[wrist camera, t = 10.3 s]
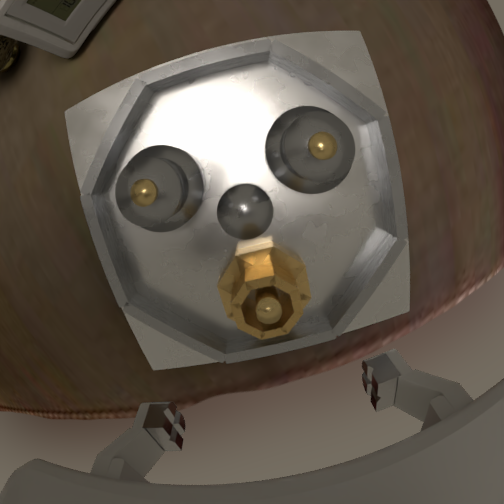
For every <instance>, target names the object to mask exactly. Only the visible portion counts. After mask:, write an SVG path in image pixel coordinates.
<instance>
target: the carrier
mask: <svg viewBox="0 0 504 504" xmlns="http://www.w3.org/2000/svg"><path fill="white" fill-rule="evenodd" d="M65 118H66V125H67V131H68V137H69V143H70V148H71V153H72V158H73V163H74V167H75V172H76V176H77V180H78V184H79V188H80V193H81V196H80V199H81V203H82V206H83V210H84V213H85V217H86V220H87V223H88V226H89V229H90V233H91V236H92V239H93V242H94V244H95V247H96V250H97V253H98V256H99V258H100V261H101V264H102V266H103V269H104V272H105V274H106V277H107V279H108V282H109V284H110V287H111V289H112V291H113V294H114V296H115V298H116V301H117V303H118V305H119V307H121V308H122V310H123V312H124V314H125V316H126V319H127V321H128V323H129V325H130V327H131V329H132V331H133V333H134V335H135V337H136V339H137V341H138V343H139V345H140V347H141V349H142V351H143V353H144V354H145V356H146V358H147V360H148V362H149V364H150V365H151V367H152V369H153V370H161V369H171V368H179V367H187V366H194V365H201V364H208V363H214V362H221V363H223V362H224V361H226V364H228V363H234V362H240V361H245V360H250V359H255V358H260V357H265V356H270V355H274V354H279V353H283V352H287V351H292V350H296V349H300V348H304V347H308V346H312V345H316V344H319V343H323V342H327V341H330V340H334V339H336V335H338V336H341V334H342V333H346V332H349V331H352V330H356V329H359V328H362V327H365V326H368V325H371V324H374V323H377V322H380V321H383V320H386V319H389V318H392V317H395V316H397V315H400V314H403V313H406V312H408V311H409V310H410V262H409V242H408V228H407V217H406V208H405V199H404V192H403V185H402V178H401V172H400V166H399V161H398V155H397V150H396V145H395V141H394V136H393V132H392V128H391V123H390V119H389V116H388V112H387V108H386V104H385V101H384V97H383V94H382V91H381V87H380V84H379V81H378V78H377V75H376V72H375V69H374V66H373V63H372V61H371V58H370V55H369V53H368V50H367V47H366V45H365V42H364V40H363V37H362V35H361V33H360V31H320V32H305V33H294V34H285V35H277V36H270V37H264V38H258V39H252V40H247V41H242V42H237V43H233V44H228V45H224V46H220V47H216V48H212V49H208V50H204V51H201V52H197V53H194V54H191V55H188V56H184V57H181V58H178V59H175V60H172V61H169V62H167V63H164V64H161V65H158V66H156V67H153V68H151V69H148V70H146V71H143V72H141V73H138V74H136V75H134V76H131V77H129V78H127V79H125V80H122V81H120V82H118V83H116V84H114V85H112V86H110V87H108V88H106V89H104V90H102V91H100V92H98V93H96V94H94V95H92V96H91V97H89V98H87V99H85V100H83V101H82V102H80V103H78V104H76V105H75V106H73V107H71V108H70V109H68V110H66V111H65ZM270 241H273V242H275V243H276V244H278V245H280V246H281V247H283V248H285V249H286V250H288V251H290V252H291V253H293V254H295V255H296V256H298V257H300V258H302V260H303V262H304V263H305V265H306V271H307V276H308V282H309V287H310V293H311V299H310V301H309V302H308V304H307V305H306V306H305V308H304V309H303V315H302V316H301V317H300V319H299V320H298V321H297V323H296V324H295V325H294V327H293V328H292V329H291V330H290V332H289V333H288V334H285V335H281V336H276V337H272V338H267V339H263V340H261V339H259V338H257V337H254V336H252V335H250V334H248V333H246V332H244V331H242V330H240V329H238V328H237V325H236V322H235V321H233V320H231V319H229V318H227V315H226V312H225V309H224V306H223V303H222V300H221V297H220V294H219V291H218V288H217V284H218V280H219V278H220V276H221V274H222V273H223V271H224V269H225V268H226V266H227V264H228V263H229V261H230V259H231V258H232V256H233V254H234V253H235V251H236V249H241V248H245V247H249V246H253V245H257V244H261V243H265V242H270ZM282 292H283V290H281V289H279V288H277V287H275V286H273V285H270V286H266V287H262V288H257V289H253V290H251V291H250V293H249V294H248V296H247V297H248V298H250V299H251V300H253V301H255V302H256V316H257V318H258V320H259V321H261V322H262V323H265V324H272V323H275V322H277V321H278V320H279V319H280V318H281V315H282V309H281V305H280V300H279V297H280V295H281V294H282Z"/></svg>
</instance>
